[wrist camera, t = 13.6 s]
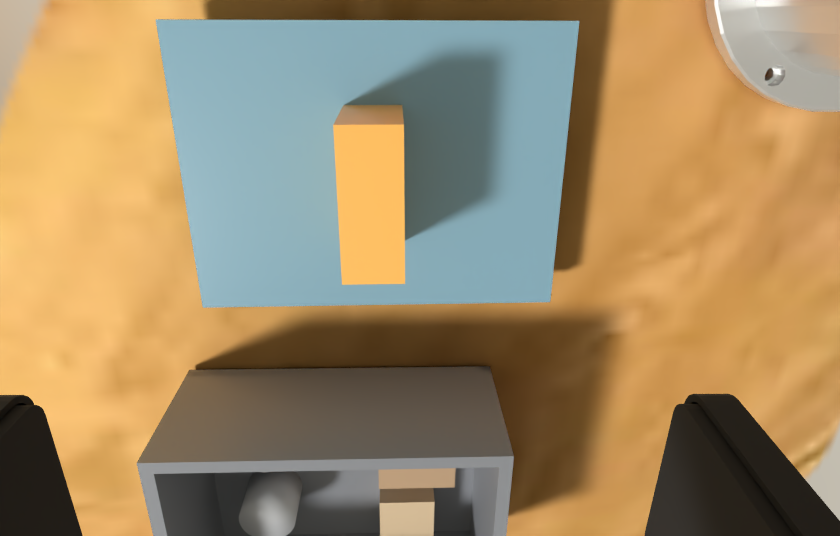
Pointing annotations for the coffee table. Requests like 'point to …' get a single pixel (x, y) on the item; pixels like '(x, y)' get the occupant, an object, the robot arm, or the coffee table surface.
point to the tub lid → (371, 157)
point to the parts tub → (330, 454)
